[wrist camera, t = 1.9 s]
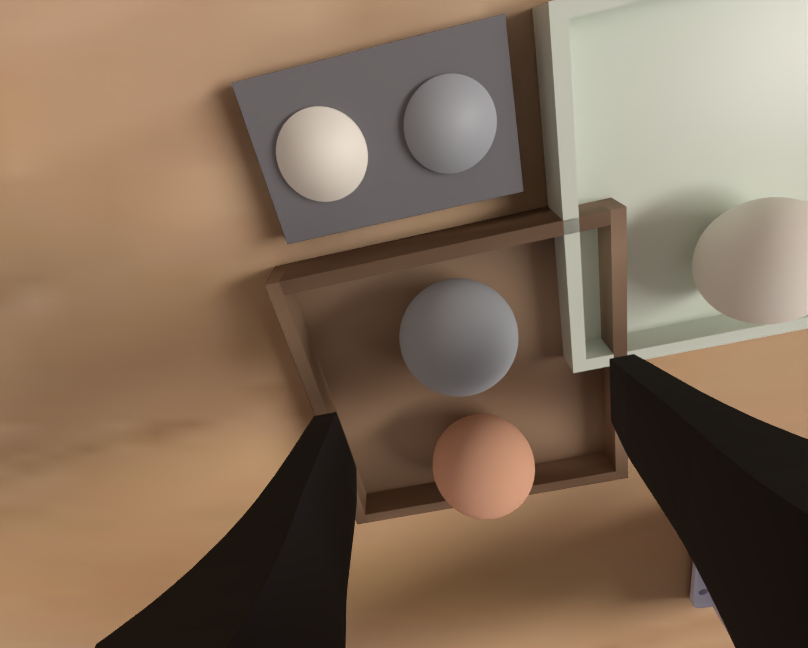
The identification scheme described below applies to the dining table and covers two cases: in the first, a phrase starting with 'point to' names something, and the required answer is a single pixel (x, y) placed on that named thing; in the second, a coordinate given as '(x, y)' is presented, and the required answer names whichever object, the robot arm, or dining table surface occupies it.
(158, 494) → the dining table surface
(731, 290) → the cream ball
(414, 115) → the tile
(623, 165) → the sage tray
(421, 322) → the grey ball
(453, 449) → the terracotta ball
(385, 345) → the walnut tray
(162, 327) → the dining table surface
